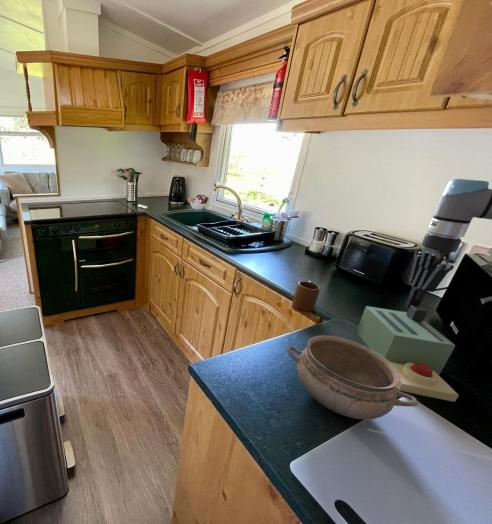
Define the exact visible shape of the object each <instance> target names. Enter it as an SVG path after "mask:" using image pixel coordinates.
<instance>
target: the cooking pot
mask: <svg viewBox="0 0 492 524" xmlns="http://www.w3.org/2000/svg"><path fill="white" fill-rule="evenodd" d="M286 352H287V354H288V355H289V356H290V357H291V359H293V361H295V363H296V371H297V377H298V379H299V381H300V383H301V386H302V387H303V388H304V389H305V391H306V392H307V393H308V394H309V395H310V396H311V397H312V398H313V399H314V400H315V401H316V402H318V403H319V404H320V405H322V406H323V407H325V408H327V409H328V410H330V411H332V412H334V413H336V414H338V415H341V416H345V417H347V418H352V419H357V420H375V419H378V418H382V417H384V416H385V415H387V414H389V413H390V412H391V411H392V410H393V408H394V407H416V406H417V405H418V404H419V401H418V400H417V398H416V397H414V396H413V395H410V394H408V393H406V392H403V391H399V390H398V389H397V387H396V386H398V385H399V384H400V381H401V377H400V374H399V372H398V370H397V369H396V368H395V367H394V366H393V365H392V364H391V363H390V362H389V361H388V360H387V359H385V358H384V357H383V356H381V355H380V354H378V353H377V352H375V351H373V350H371V349H370V348H369V347H368V346H365V345H364V344H361V343H358V342H356V341H353V340H351V339H350V340H349V339H347V338H344V337H339V336H333V335H316V336H313V337H310V338H309V339H308V340H307V342H306V347H305V349H304V350H300V349H299V348H296V347H294V346H291V345H289V346H287V347H286ZM295 353H296V354H298V355H296V354H295ZM397 397H398V398H404V399H407V400H410V401H405V400H401V399H398V398H397Z"/></svg>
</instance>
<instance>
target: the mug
mask: <svg viewBox="0 0 492 524" xmlns="http://www.w3.org/2000/svg"><path fill="white" fill-rule="evenodd" d="M320 290H321V287H320V286H319V285H317V284H316V283H314V282H313V281H312V280H308V281H305V280H304V281H301V280H300V281H298V283H297V286H296V288H295V292H294V295H293V299H292V304H291V305H292V306H293V307H294V308H295V309H297V310H299V311H303V312H312V311H313V310H315V307H316V303H317V301H318V297H319V294H320Z"/></svg>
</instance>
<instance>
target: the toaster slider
mask: <svg viewBox="0 0 492 524" xmlns="http://www.w3.org/2000/svg"><path fill="white" fill-rule="evenodd" d="M406 312H407V314H406V315H407V316H408V317H409V318H410V319H412V320H417V321H425V319H426V317H427V314H428V313H429V311H428V310H427V309H425V308H424V307H423V306H420V305H419V306H414V305H410V307H409V308H408V309H407V311H406Z"/></svg>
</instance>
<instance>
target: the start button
mask: <svg viewBox="0 0 492 524" xmlns="http://www.w3.org/2000/svg"><path fill="white" fill-rule="evenodd" d="M412 370H413V371H414V372H416V373H417V374H419V375H422V376H425V377H430V376H431V374H432V372H433V370H432V369H431V368H430V367H429V366H427V365H425V364H422V363H414V365H413V367H412Z"/></svg>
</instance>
